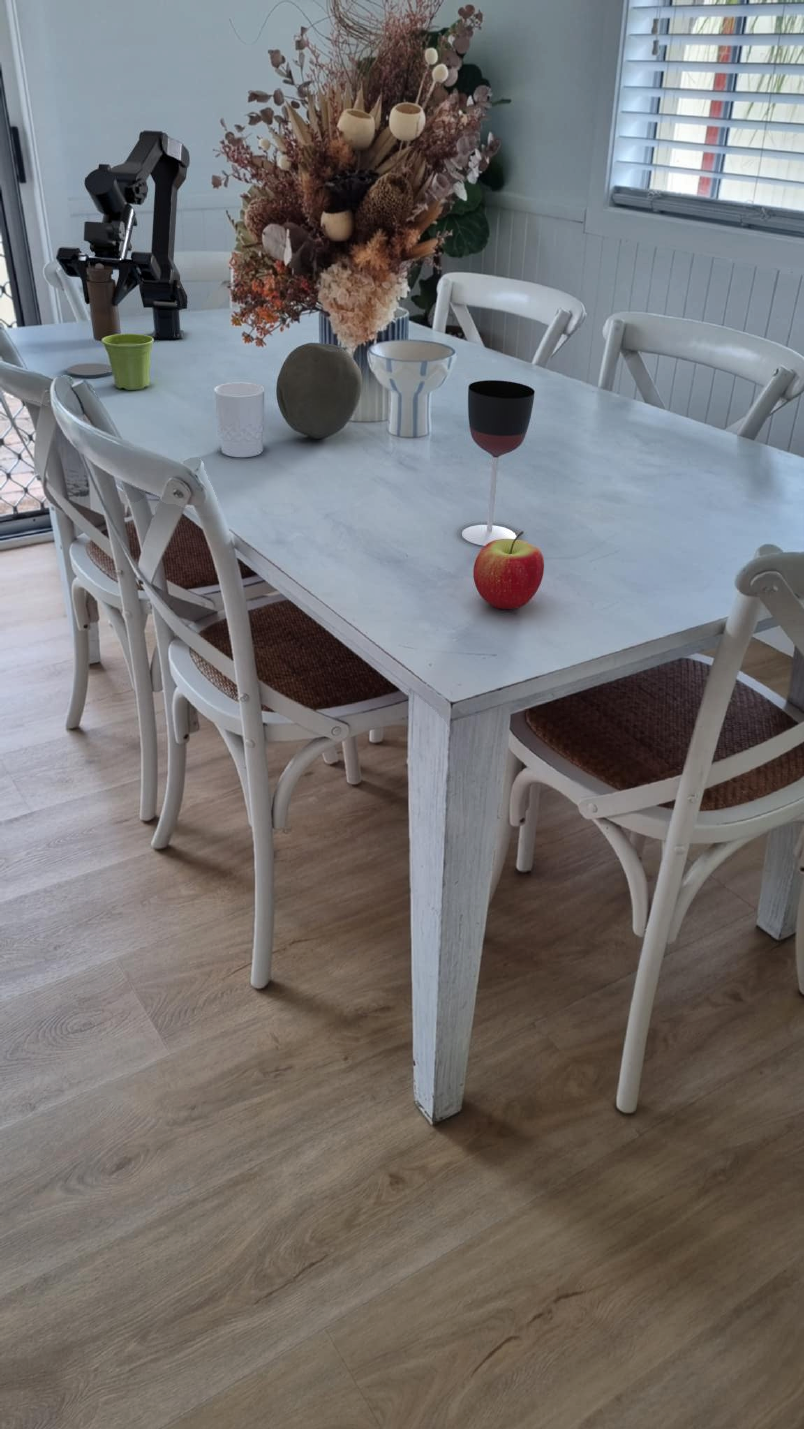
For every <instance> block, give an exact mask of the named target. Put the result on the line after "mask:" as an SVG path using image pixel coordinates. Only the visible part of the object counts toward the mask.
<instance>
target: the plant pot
mask: <svg viewBox="0 0 804 1429" xmlns="http://www.w3.org/2000/svg"><path fill="white" fill-rule="evenodd" d="M154 341H155V339H153V338H152V336H150V335H147V334H141V333H121V334H116V335H110V336H107V337H104V338H103V339H102V341H101V343H102V344H103V345H104V349H105V352H107V356H108V359H109V364H110V366H111V368H112V372H113V373H112V376H113V379H114V383H115V387H116V388H118V389H125V390H128V391H134V390H142V389H144V388H145V387H147V388H148V387H149V386H150V366H151V365H150V364H151V363H150V362H151V350H152V347H153V346H152V345H153V343H154Z"/></svg>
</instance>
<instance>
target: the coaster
mask: <svg viewBox="0 0 804 1429" xmlns="http://www.w3.org/2000/svg"><path fill="white" fill-rule="evenodd" d="M66 372H67V375H69V376H70V377H74V378H78V379H79V378H80V379H96V378H104V377H107V376H110V375H113V372H112V368H111V365H109V364H104V363H94V362H89V363H79V364H74V365H72V366H69V367H68V368H67V369H66Z"/></svg>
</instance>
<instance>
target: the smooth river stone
mask: <svg viewBox="0 0 804 1429" xmlns="http://www.w3.org/2000/svg"><path fill="white" fill-rule="evenodd" d="M278 373H279V374H278V376H277V380H276V388H275V390H276V392H275V393H276V395H275V396H276V401H277V406H278V408H279V411H280V413H281V415H282V417H283V419H284V420H285V423H287V424H288V426H289V427H290V428H291V429H292V430H293V431H295V432H296V433H300V434H302V435H304V436H306V437H308V438H311V439H314V440H322V439H326V438H329V437H331V436H333V435H335V434H337V433H338V432H340V431H341V430H342V429H343V428H344V427H346V425H347V424H349V421H351V419H352V417H353V416H354V413H355V411H356V409H357V407H358V405H359V402H360V399H361V395H362V391H363V375H362V372H361V369H360V367H359V365H358V363H357V362H356V360H355V359H354V357H353V356H352V355H351V353H349V352H348V351H347V350H346V349H344V348H343V347H340V346H339V345H335V344H333V343H322V342H307V343H304V344H301V345H299V346H297V347H295V349H292V351H291V352H290V353H289V354H288V355H287V357H286V358H285V360H284V362H283V364H282V366H281V368H280V371H279V372H278Z"/></svg>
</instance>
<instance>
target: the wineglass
mask: <svg viewBox="0 0 804 1429" xmlns="http://www.w3.org/2000/svg"><path fill="white" fill-rule="evenodd" d="M467 388H468V389H467V413H468V414H467V415H468V425H469V426H468V427H469V432H470V435H471V436H470V437H471V438H472V440H473V442H474V443H475V444H476V445H477V446H478V447H479V448H480V449H482V450H483V451H485V452H486V453H488V454H490V455H491V456H492V464H491V474H490V488H489V499H488V501H489V502H488V511H487V522H486V524H477V525H476V524H475V525H471V526H468V527H466V528H465V529H463V530H462V532H461V536H462V538H463V539H464V540H465V541H467V542H468V543H472V544H474V545H478V546H483V547H484V546H485V545H486V544H488V543H489V542H492V541H494V540H498V539H515V538H516V537H517V535H516V533H515V532H514V531H512V529H509V528H507V527H504V526H499V525H494V514H495V504H496V503H495V502H496V494H497V493H496V492H497V482H498V468H499V458H500V457H501V456H503V455H506V454H508V453H511V452H513V451H515V450H517V449H518V448H519V447H520V446H521V445H522V444H523V442H524V440H525V438H526V435H527V432H528V429H529V425H530V422H531V418H532V412H533V407H534V400H535V395H536V393H535V392H536V391H535V389H533V388H532V387H530V386H529V385H527V384H524V383H520V382H515V381H508V380H499V379H485V380H477V381H474V382H471V383H469V385H468V387H467Z"/></svg>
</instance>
